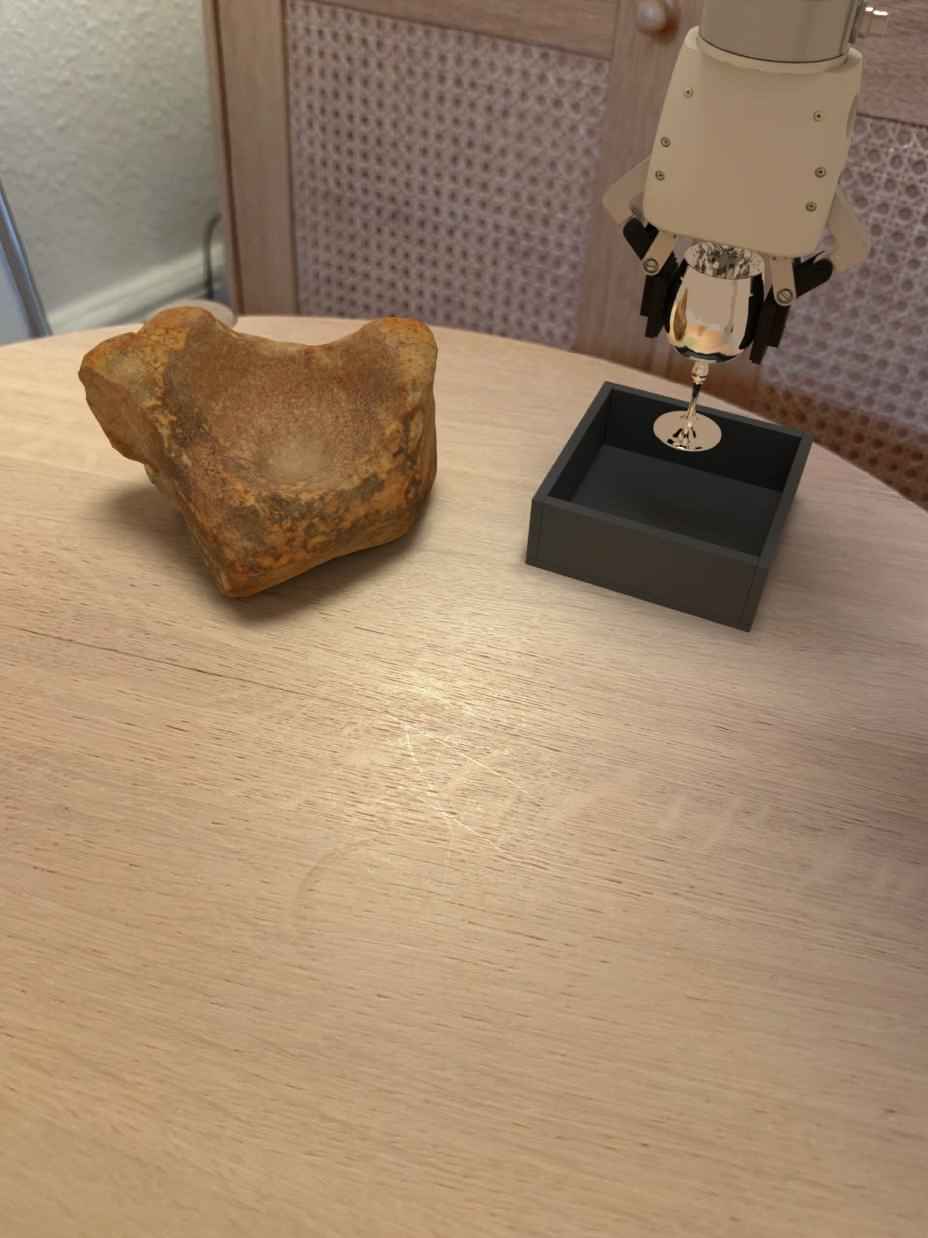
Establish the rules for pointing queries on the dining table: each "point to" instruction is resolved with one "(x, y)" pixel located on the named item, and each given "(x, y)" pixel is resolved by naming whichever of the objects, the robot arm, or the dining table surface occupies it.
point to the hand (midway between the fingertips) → (707, 337)
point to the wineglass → (709, 328)
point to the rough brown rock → (273, 436)
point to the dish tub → (668, 506)
